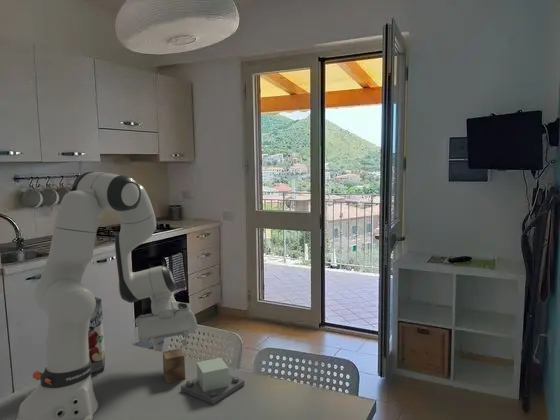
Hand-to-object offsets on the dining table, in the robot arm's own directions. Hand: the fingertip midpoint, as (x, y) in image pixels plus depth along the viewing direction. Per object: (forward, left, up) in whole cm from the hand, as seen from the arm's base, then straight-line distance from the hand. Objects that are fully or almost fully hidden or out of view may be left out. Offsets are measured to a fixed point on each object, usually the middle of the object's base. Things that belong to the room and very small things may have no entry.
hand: (171, 348), depth 150 cm
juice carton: (-17, +23, -8) cm, 30 cm away
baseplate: (0, -20, -8) cm, 21 cm away
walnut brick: (-2, -4, -8) cm, 9 cm away
